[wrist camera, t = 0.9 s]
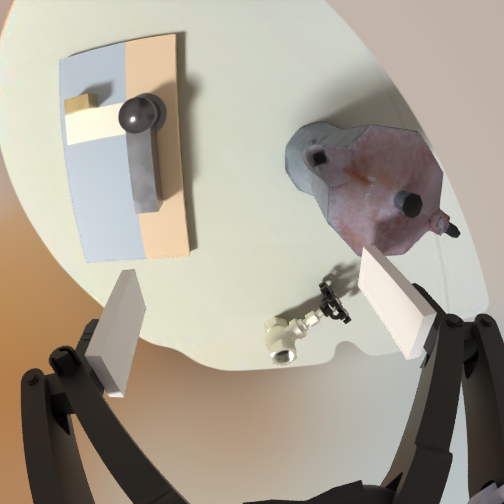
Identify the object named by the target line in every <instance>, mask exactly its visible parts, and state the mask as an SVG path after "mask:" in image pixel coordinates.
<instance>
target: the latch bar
mask: <svg viewBox="0 0 504 504" xmlns="http://www.w3.org/2000/svg"><path fill="white" fill-rule="evenodd" d="M160 116H161V111H160V108H159V106H158V104H157V103H156V102H155V101H153V100H151V99H146V98H141V97H134V98H131V99H129V100H127V101H126V102H125V103H124V104H123V105H122V106H121V108H120V110H119V114H118V120H119V123H120V126H121V127H122V128H123V129H124V130H125V132H126V143H127V154H128V163H129V172H130V180H131V188H132V195H133V202H134V208H135V214H140V213H151V212H159V210H160V208H161V206H162V204H163V194H162V185H161V176H160V166H159V154H158V142H157V128H156V125H157V124H158V122H159V120H160Z"/></svg>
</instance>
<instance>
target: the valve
mask: <svg viewBox="0 0 504 504" xmlns="http://www.w3.org/2000/svg"><path fill="white" fill-rule="evenodd" d="M319 287H320V288H321V289H320V290H321V292H322V293H323V295H325V294H326V295H325V296H324V297H323V299H322V304H320V305H319V308H320V309H319V310H318V311H316V312H314V311H311V312H309V313H308V314H307V315H305V319H304V320H303V319H299V320H298V319H297V318H294V319H292V320H291V321H290V322H289V325H288V323H287V320H286V319H283V318H279V317H273V318H272V319H270V320H269V321H267V322H266V323H265V324H264V326H265V332H266V336H265V345H266V347H267V349H268V350H269V352H270V353H271V358H272V362H273V364H277V365H287V364H289V363H291V362H293V361H294V360H295V359H296V358H297V355H296V348H295V345H294V344H295V340H296V339H298V338H299V339H302V338H303V337H305V336H306V335H307V333H306V331H307V330H308V326H310V325H311V326H314V325H316V324H317V323H319V322H320V319H319V318H320V317H322V316H323V315H325V316H326V317H328V316H330V317H331V318H332V319H335V320H337V319H341V320H343V319H344V318H345V320H344V321H343V322H344V323H345V324H347V323H348V322H350V321H351V318H350V316H349V314H348V312H347V311H346V309H344V308H343V306H342V305H341V304H342V303H341V301H340V300H339V298H337V297H336V296H335V295H334V292H333V290H332V289H331V288H330V286H328V285H327V283H326V282H325V281H323V282H322V283H321V284H319ZM336 310H337V311H338V312H339V314H337V315H334V314H333V313H334V312H335V311H336Z"/></svg>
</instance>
